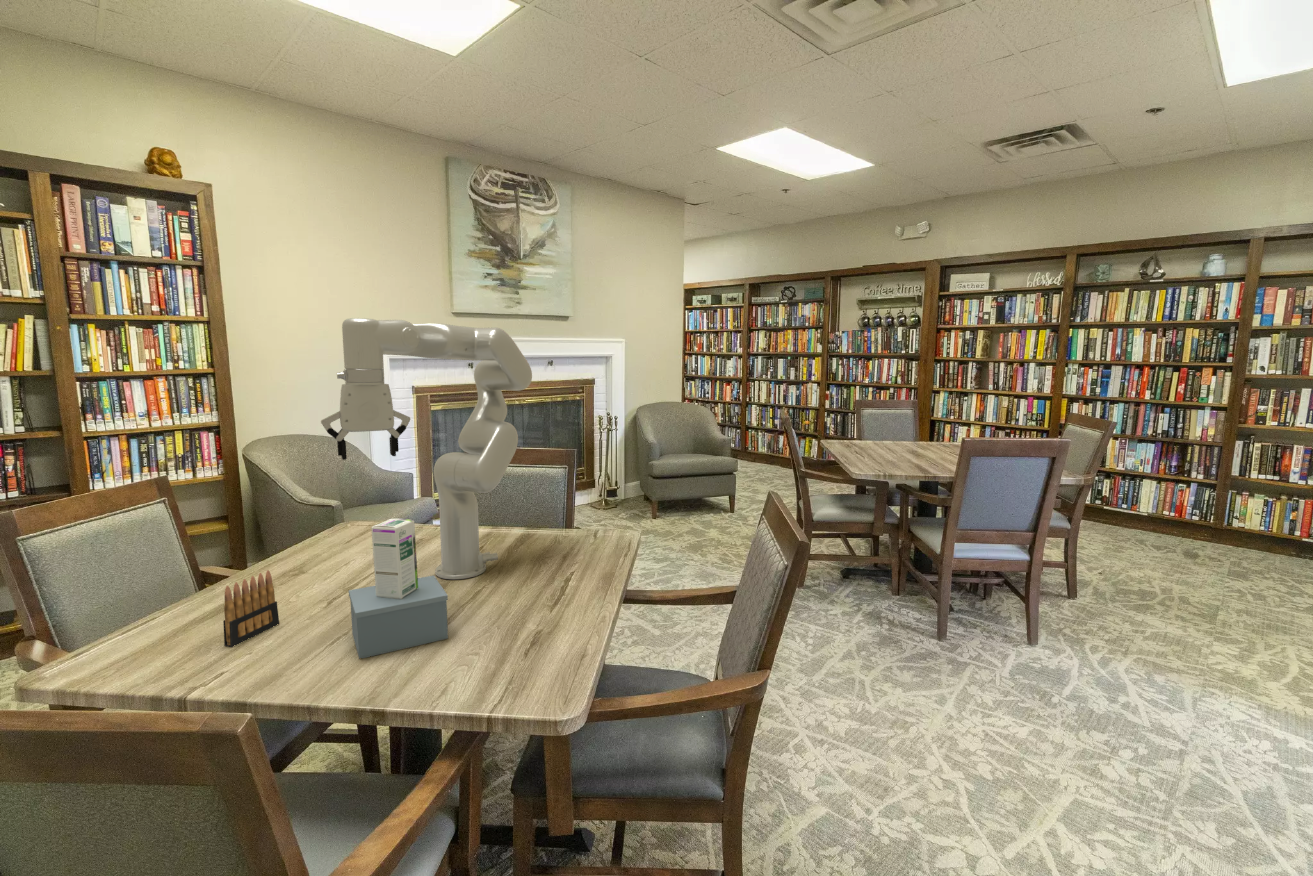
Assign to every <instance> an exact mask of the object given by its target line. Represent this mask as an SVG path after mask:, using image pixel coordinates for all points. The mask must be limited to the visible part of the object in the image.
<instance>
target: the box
mask: <svg viewBox="0 0 1313 876" xmlns="http://www.w3.org/2000/svg"><path fill="white" fill-rule="evenodd" d="M349 600H350V599H349ZM447 602H448V600H445V601H440V602H435V603H430V604H425V605H420V606H415V607H410V608H405V609H400V610H395V611H390V612H385V613H380V614H375V615H370V616H365V617H360V618H356V617H355V614H354V611H353V607H352V604H351V600H350V614H351V615H350V616H351V633H352V638H353V641H354V644H355V647H356V648H355V649H356V652H357V655H358V659H359V660H361V659H360V658H362V659H366V658H370V656H371V657H374V656H378V655H383V654H387V653H392V652H396V651H400V650H405V649H408V648H409V649H410V648H413V647H417V646H422V645H425V644H429V643H433V642H438V641H443V640H449V634H448V633H449V631H448V629H449V628H448V605H447V604H448V603H447Z"/></svg>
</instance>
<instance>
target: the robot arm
mask: <svg viewBox="0 0 1313 876" xmlns="http://www.w3.org/2000/svg"><path fill="white" fill-rule="evenodd" d="M341 332H342V347H343V348H342V349H343V350H342V351H343V364H344V365H343V366H344V369H343V370H342V371H339V372H336V377H337V379H338V380H340V379H341V380H343V381H344V384H341V388H340V399H339V411H337V412H335V413H333V414H331V415H329V416H327V417H325V418H323V419H321V420H320V424H322V425H321V426H322V427H323V428H324V430H325V431H326V432H327V434H328V435H330V436H331V437H332V438H334V439H335V440H336V441H337V442H336V443H337V456H338V457H341V459H342V461H346V460H347V459H348V458H347V456H348V455H347V442H346V440H345V437H346V436H347V435H348V434H349V433H360V432H361V433H362V432H363V433H364V432H380V431H382V432H383V431H384V432H385V431H387V432H388V433H389V434H390V436H389V453H390V455H391V456H392V457H397V454H396V453H398V452H399V450H400V449H399V438H400V437H401V435H402V434H403V433H404V432H405V431H406V430H407V427H408V426H409V423H410V421H411V417H410V416H408V415H406V414H403V413H401V412H399V411H397V410H394V405H393V398H392V393H391V389H390V385H389V384H388V383H385V370H384V369H385V368H384V367H385V366H384V365H385V364H384V355H385V356H404V357H405V356H407V357H416V358H424V359H436V360H438V359H439V360H459V361H461V360H462V361H478V363H477V364H476V366H475V368H474V370H473V379H474V383H475V387H476V390H477V391H476V392H477V403H476V404H475V406H474V408H473V411H472V412H471V414H470V416H469V417H468V419H467V421H466V422H465V424H464V425H463V427H462V429H461V431H460V433H459V435H458V439H457V440H458V441H457V442H458V446H459V448H460V449H461V450H462V451H463V452H458V451H457V452H456V451H454V452H447V453H444V454H442V455H441V456H440V457H438V458H437V460H436V461H435V464H434V467H433V477H434V478H433V479H434V481H435V482H434V483H435V485H436V486H435V487H436V491H437V494H438V495H437V496H438V503H439V505H438V507H439V533H440V555H441V556H440V557H441V559H440V560H441V564H440V565H438V566H437V567H436V568H435V575H436V576H437V577H438V578H440V579H445V580H464V579H469V578H474V577H477V576H479V575H481V574H483V573H484V572H486V570H487V566H486V564H487V562H493V561H494V562H495V561H498V559H499V558H498V557H499V555H498V552H494V553H491V552H490V551H487V552H483V553H482V552H481V550H480V535H479V533H480V532H479V529H480V527H479V505H478V500H477V497H476V495H475V493H480V494H486V493H490V492H492V491H493V490H494V489H496V488H497V486H498V485H499V484H500V482H501V480H502V478H503V476H504V474H505V473H506V470H507V469H508V468H509V465H510V463H511V462H512V459H514V458H513V457H514V456H515V453H516V451H517V447H518V443H519V435H518V431H517V429H516V427H515V426H514V425H513V424H512V423H510V422H507V421H505V420H506V418H507V415H508V406H507V402H506V401H505V398H504V394H503V392H502V391H512V392H514V391H517V392H519V391H523V390H525V389H527V388H529V386H530V385H531V384H532V380H533V371H532V367H531V366H530V364H529V362H528V360H527V359H526V357H525V356H524V354H523V353H522V351H521V349H520V348H519V347H518V345H517V343H516V342H515V341H514V340H513V338H512V337H511V336H510V335H509V334H508V333H507V332H506V331H505V330H504V329H502V328H500V327H471V326H463V325H453V324H447V323H415V324H414V323H412V322H409V321H407V320H404V319H403V320H402V319H378V320H377V319H374V318H365V317H364V318H359V317H354V318H353V317H352V318H346V319H344V320H343V321H342V324H341ZM395 418H397V419H399V420H400V421H401V423H400V425H398V427H397V428H396V429H395V428H394V426H395ZM337 420H340V421H339V422H340V427H341V428H340V430H339V431H336V430H335V429H334V428H333V427H332V425H331V424H332V423H334V422H335V421H337Z"/></svg>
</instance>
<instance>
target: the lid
mask: <svg viewBox="0 0 1313 876" xmlns="http://www.w3.org/2000/svg"><path fill="white" fill-rule="evenodd" d="M348 597H349V600H351V602H350V605H351V604H352V607H353V611H354V614H355V617H356V618H360V617H365V616H370V615H375V614H380V613H385V612H390V611H395V610H400V609H405V608H410V607H415V606H420V605H425V604H430V603H435V602H440V601H445V600H447V601H448V599H449V598H448V597H449V596H448V594H447V592H446V591H445V589H444V588H443V586H442V585H441V584H440V582H439V581H438V580H437V578H436V576H435V575H427V576H422V577H418V588H417V589H416V590H414V591H412V592H411V593H409V594H407V595H406V596H404V597H403V598H402V599H395V598H385V597H379V596H376V586H375V585H372V586H366V587H359V588H354V589H349V590H348Z"/></svg>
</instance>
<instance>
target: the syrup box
mask: <svg viewBox="0 0 1313 876" xmlns="http://www.w3.org/2000/svg"><path fill="white" fill-rule="evenodd" d="M371 540H372V541H371V542H372V543H371V544H372V557H373V558H372V559H373V569H374V571H373V572H374V582H375V583H374V586H376V596H379V597H385V598H395V599H402V598H403V597H404V596H406V595H407V594H409V593H411V592H412V591H414V590H416V589H417V588H418V578H419V577H418V576H419V575H418V561H417V559H418V558H417V547H416V546H417V545H416V544H417V543H416V527H415V520H414V519H413V520H412V519H410V518H409V519H408V518H389V519H387V520H385V521H383V522H380V523H378V524H375V525H373V526H371Z"/></svg>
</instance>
